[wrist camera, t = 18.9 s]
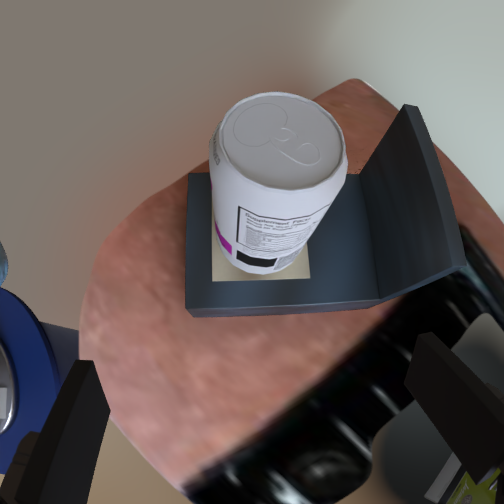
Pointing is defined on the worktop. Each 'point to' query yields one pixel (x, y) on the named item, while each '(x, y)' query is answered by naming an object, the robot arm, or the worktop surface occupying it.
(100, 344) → the worktop surface
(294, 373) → the worktop surface
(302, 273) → the chair
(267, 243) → the supplement can
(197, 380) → the worktop surface
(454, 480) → the tea box
